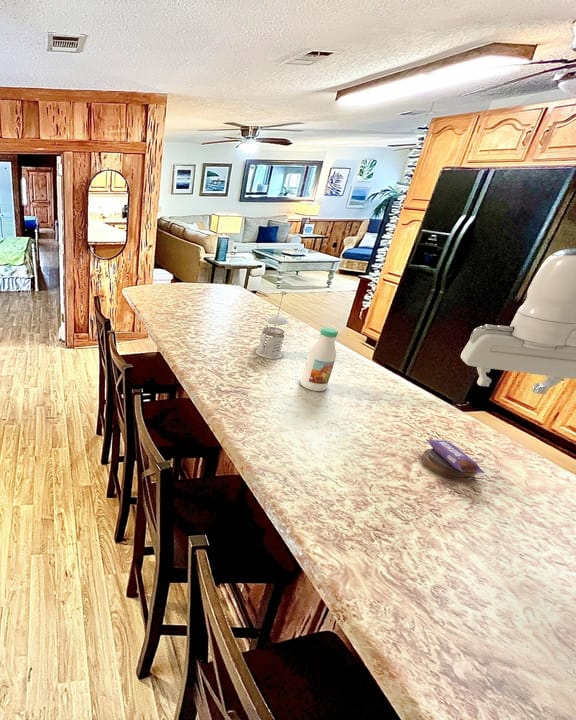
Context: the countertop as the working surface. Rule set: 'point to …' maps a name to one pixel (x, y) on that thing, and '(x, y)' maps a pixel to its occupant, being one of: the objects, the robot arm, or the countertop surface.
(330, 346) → the milk bottle
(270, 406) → the countertop surface
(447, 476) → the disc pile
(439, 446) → the snack package
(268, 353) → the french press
